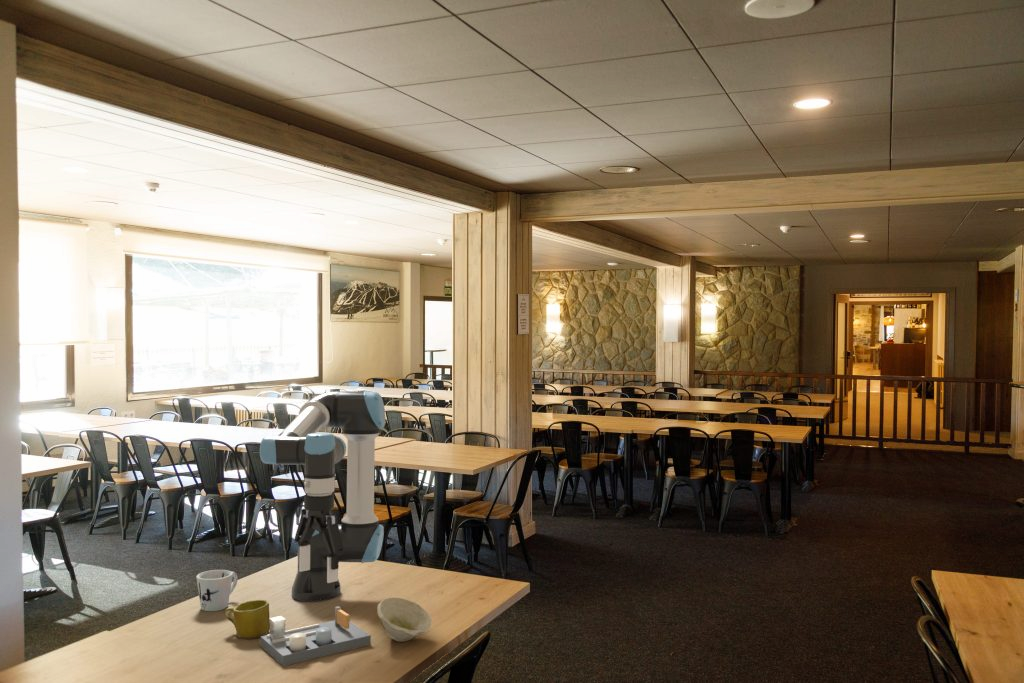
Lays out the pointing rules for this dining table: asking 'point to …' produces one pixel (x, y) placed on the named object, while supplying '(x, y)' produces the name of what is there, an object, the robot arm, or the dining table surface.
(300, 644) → the button ivory
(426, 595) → the dining table surface
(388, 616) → the bowl
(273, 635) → the slider knob
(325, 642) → the button bluegrey
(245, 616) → the mug
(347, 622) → the paddle
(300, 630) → the panel
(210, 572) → the mug
